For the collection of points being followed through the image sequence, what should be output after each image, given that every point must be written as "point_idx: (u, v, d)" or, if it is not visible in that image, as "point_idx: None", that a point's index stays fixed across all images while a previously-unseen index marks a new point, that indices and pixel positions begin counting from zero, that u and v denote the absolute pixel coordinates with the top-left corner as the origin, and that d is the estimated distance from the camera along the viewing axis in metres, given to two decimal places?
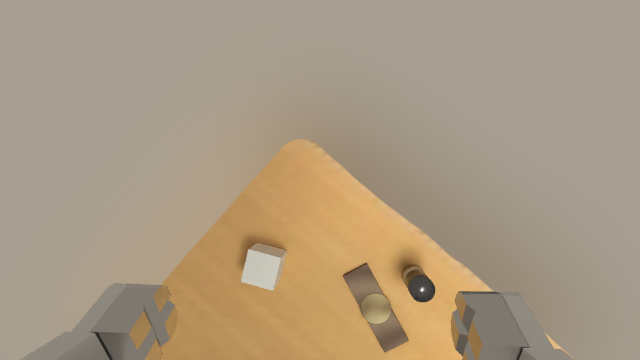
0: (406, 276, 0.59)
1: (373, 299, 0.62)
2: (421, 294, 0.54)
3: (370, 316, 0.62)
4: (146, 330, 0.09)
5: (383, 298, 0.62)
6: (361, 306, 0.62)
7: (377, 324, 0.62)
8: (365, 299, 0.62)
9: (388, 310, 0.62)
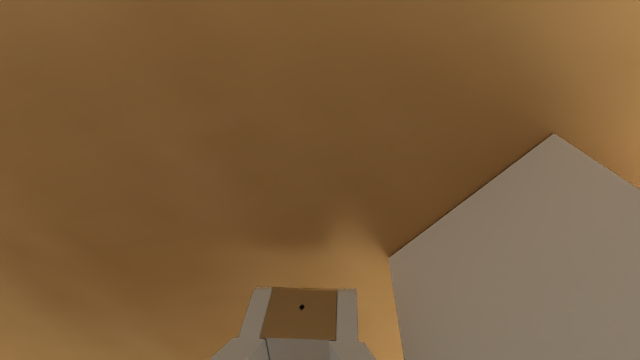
0: None
1: None
2: None
3: None
4: None
5: None
6: None
7: None
8: None
9: None
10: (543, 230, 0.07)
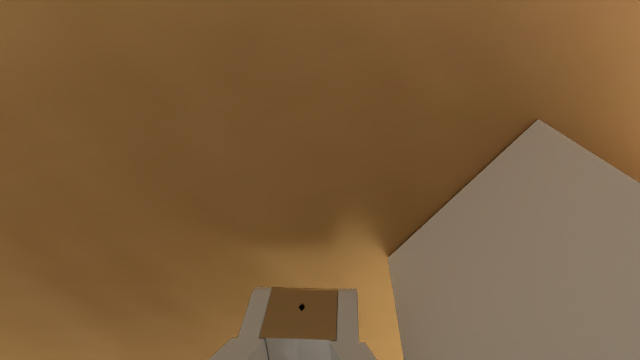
0: None
1: None
2: None
3: None
4: None
5: None
6: None
7: None
8: None
9: None
10: (530, 219, 0.07)
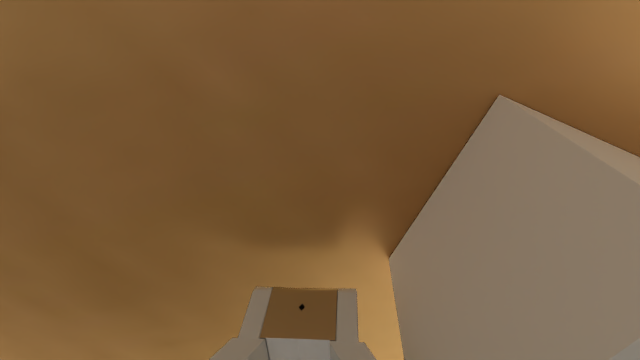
0: None
1: None
2: None
3: None
4: None
5: None
6: None
7: None
8: None
9: None
10: (496, 201, 0.07)
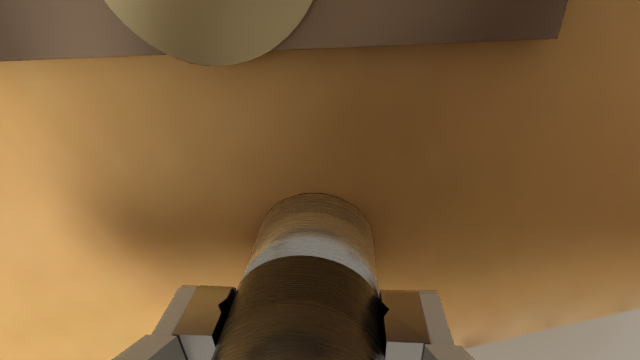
0: (367, 295, 0.08)
1: None
2: None
3: None
4: None
5: (258, 37, 0.08)
6: None
7: None
8: None
9: (160, 29, 0.08)
10: None
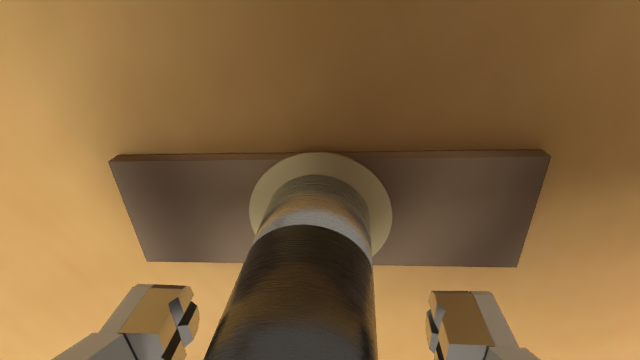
0: (360, 259, 0.09)
1: None
2: None
3: None
4: (172, 331, 0.08)
5: None
6: (359, 168, 0.12)
7: (247, 192, 0.13)
8: (382, 202, 0.12)
9: None
10: None
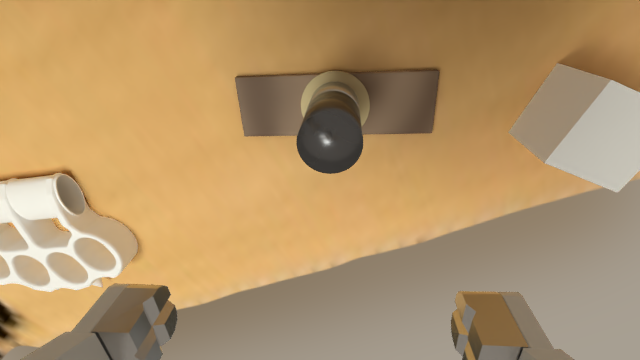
0: (354, 103, 0.23)
1: None
2: (319, 135, 0.20)
3: None
4: (146, 330, 0.09)
5: None
6: (354, 78, 0.26)
7: (300, 92, 0.27)
8: (364, 96, 0.27)
9: None
10: None
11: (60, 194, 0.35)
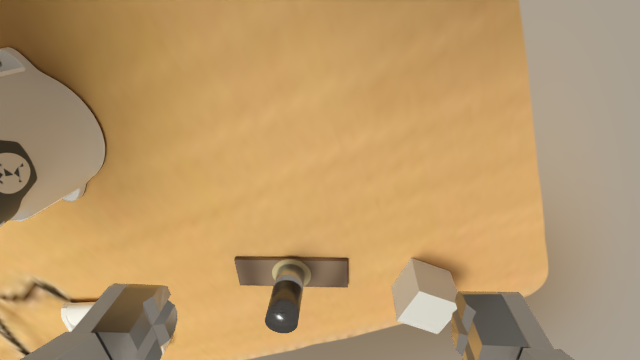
0: (298, 287, 0.44)
1: None
2: (276, 318, 0.40)
3: None
4: (146, 330, 0.09)
5: None
6: (301, 262, 0.47)
7: (271, 267, 0.47)
8: (307, 270, 0.47)
9: None
10: (443, 280, 0.44)
11: None
